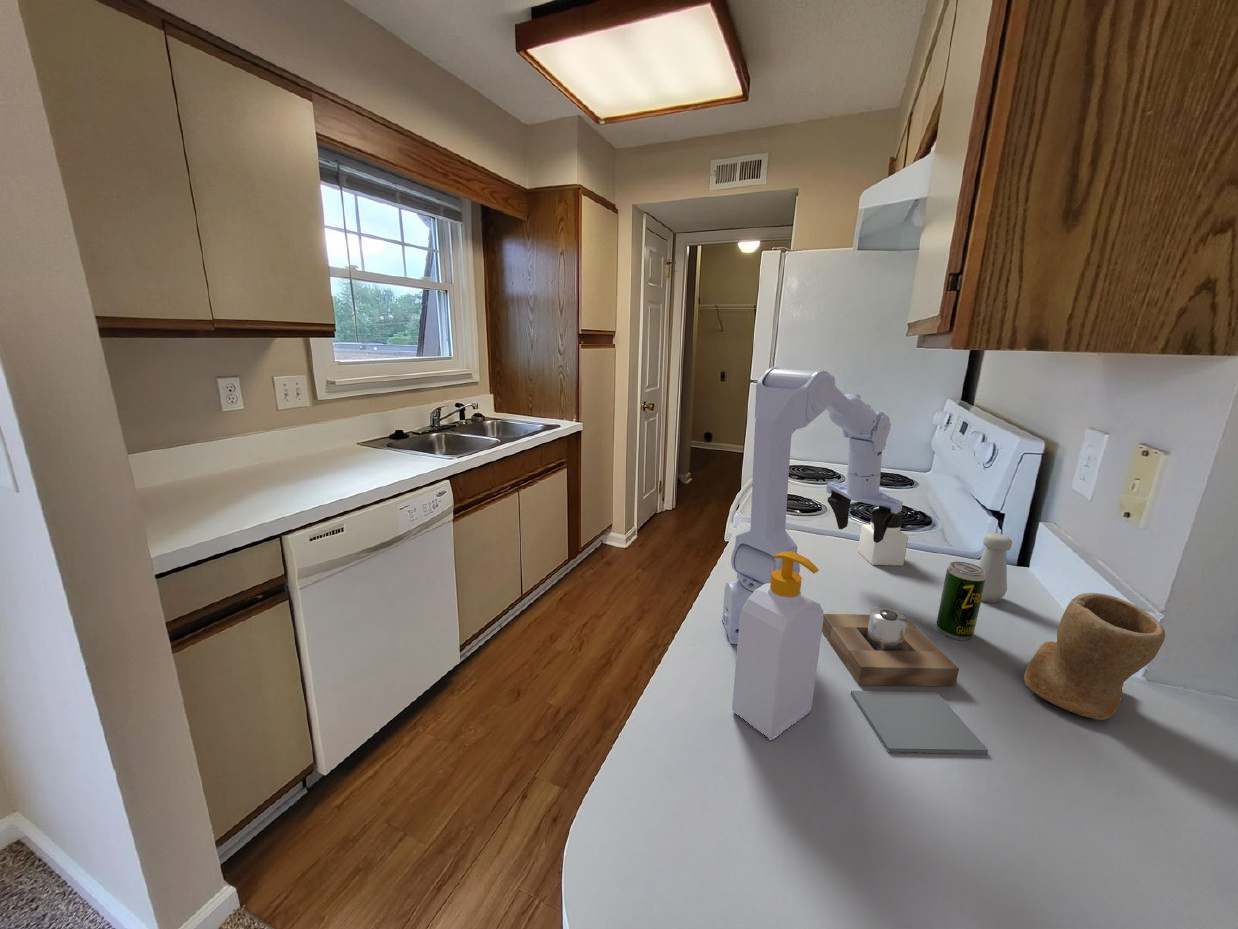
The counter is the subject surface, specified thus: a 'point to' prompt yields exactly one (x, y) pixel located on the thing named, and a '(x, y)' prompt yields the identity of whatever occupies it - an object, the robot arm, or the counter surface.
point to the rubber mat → (916, 723)
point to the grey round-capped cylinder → (886, 630)
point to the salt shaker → (995, 566)
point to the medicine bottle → (884, 543)
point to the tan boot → (1094, 654)
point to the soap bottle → (777, 651)
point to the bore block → (887, 655)
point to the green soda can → (961, 600)
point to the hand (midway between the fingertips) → (859, 534)
